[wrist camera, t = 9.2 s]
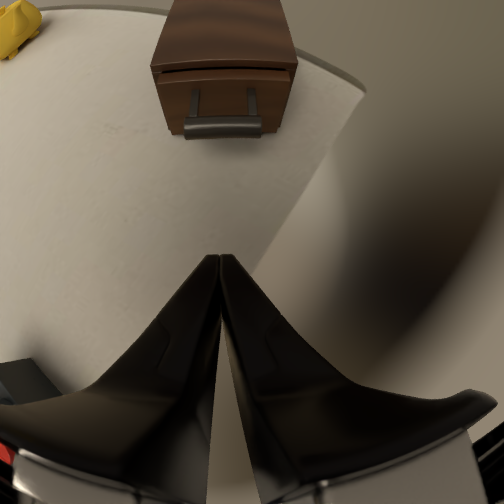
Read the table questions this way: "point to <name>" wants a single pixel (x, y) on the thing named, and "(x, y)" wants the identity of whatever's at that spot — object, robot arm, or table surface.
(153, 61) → the cabinet
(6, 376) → the control block
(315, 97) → the table surface
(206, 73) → the drawer
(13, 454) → the button
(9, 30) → the teapot
